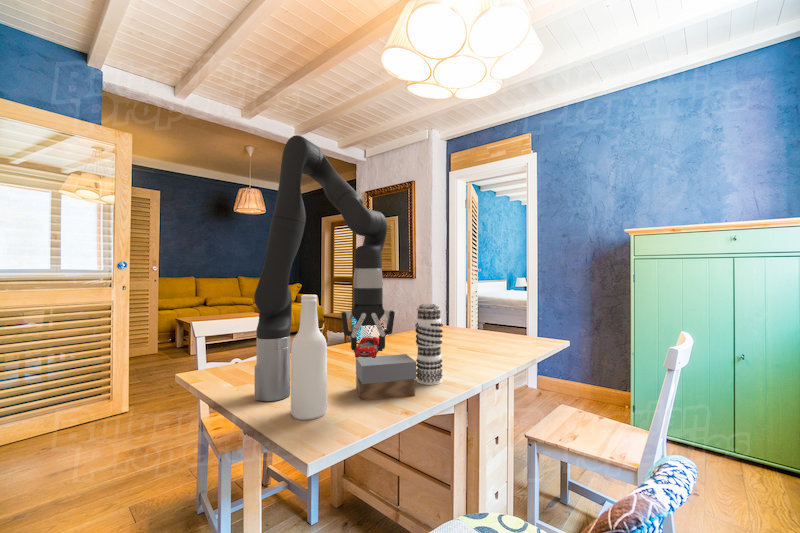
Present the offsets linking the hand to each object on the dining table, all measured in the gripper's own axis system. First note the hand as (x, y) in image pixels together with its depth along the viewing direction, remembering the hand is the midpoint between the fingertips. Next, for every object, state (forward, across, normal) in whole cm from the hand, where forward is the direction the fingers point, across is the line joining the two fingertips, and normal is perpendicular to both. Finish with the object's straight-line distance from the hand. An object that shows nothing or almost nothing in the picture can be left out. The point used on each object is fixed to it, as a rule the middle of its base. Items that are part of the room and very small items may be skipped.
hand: (367, 350), depth 91 cm
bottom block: (+16, -6, -13) cm, 22 cm away
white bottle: (+16, +15, -1) cm, 22 cm away
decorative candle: (+15, -22, -21) cm, 34 cm away
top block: (+11, -6, -13) cm, 18 cm away
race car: (+1, 0, 0) cm, 1 cm away
